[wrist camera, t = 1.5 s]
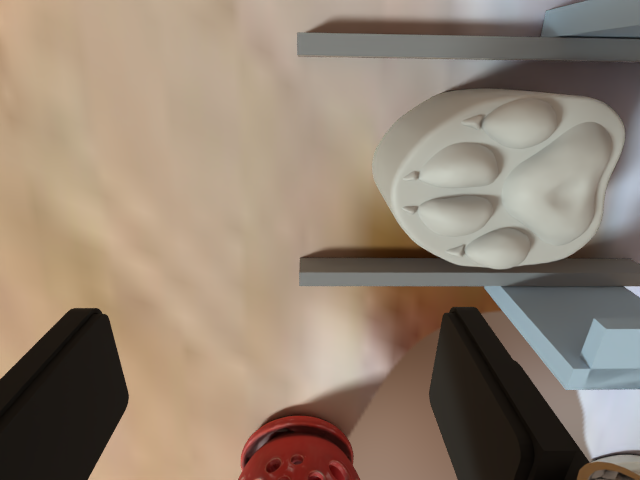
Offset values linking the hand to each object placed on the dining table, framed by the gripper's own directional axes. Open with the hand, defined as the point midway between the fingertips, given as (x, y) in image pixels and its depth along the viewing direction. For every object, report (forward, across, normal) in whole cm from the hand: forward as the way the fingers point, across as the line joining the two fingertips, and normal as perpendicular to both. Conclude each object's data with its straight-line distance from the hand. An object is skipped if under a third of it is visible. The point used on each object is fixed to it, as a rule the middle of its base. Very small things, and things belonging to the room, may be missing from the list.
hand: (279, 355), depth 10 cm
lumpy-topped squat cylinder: (+21, -12, 0) cm, 24 cm away
